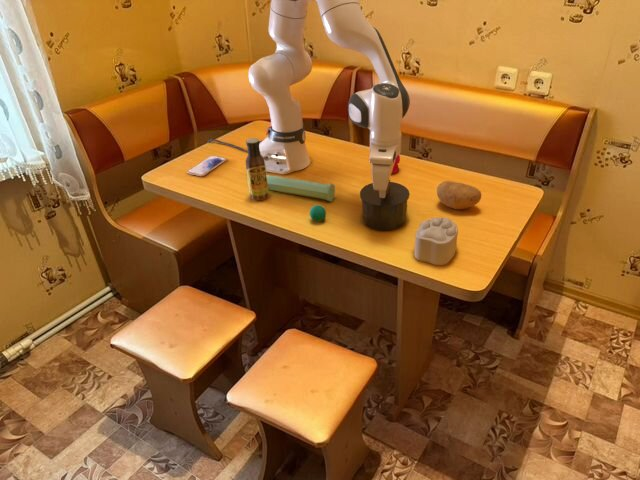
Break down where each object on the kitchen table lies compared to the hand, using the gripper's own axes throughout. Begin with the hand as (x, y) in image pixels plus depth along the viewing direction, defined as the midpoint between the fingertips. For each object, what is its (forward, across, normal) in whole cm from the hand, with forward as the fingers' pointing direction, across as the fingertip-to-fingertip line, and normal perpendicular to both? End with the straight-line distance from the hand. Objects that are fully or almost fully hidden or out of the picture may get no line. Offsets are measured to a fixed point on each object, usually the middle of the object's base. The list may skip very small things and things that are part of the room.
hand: (384, 189), depth 147 cm
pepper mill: (+10, -33, -3) cm, 35 cm away
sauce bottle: (+10, -7, -43) cm, 45 cm away
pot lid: (+2, 0, 0) cm, 2 cm away
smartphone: (+10, -25, -70) cm, 75 cm away
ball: (+10, +4, -20) cm, 23 cm away
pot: (+10, 0, 0) cm, 10 cm away
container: (+10, -11, -31) cm, 35 cm away
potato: (+10, -11, +22) cm, 27 cm away
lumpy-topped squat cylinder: (+10, +14, +17) cm, 24 cm away
